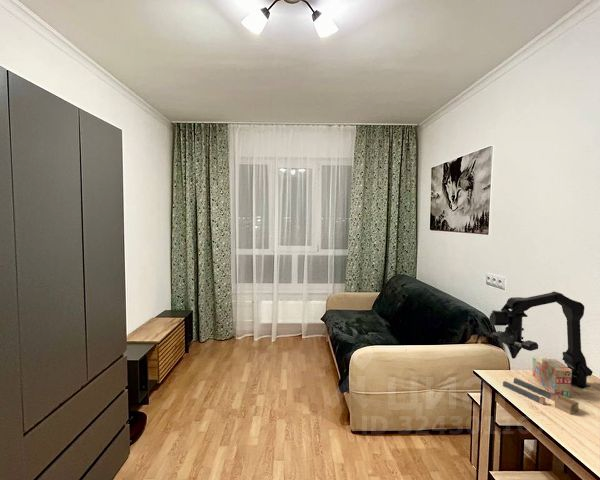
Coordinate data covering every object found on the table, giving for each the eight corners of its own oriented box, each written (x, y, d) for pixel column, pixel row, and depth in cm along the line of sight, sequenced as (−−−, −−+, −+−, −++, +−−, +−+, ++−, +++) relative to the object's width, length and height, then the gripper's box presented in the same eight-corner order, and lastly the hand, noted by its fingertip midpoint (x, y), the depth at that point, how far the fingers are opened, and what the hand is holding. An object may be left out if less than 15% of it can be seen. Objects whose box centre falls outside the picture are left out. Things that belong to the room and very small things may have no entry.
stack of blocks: (531, 375, 175) (532, 350, 174) (545, 375, 174) (547, 351, 173) (554, 396, 154) (556, 369, 153) (570, 398, 153) (572, 370, 152)
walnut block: (562, 404, 148) (562, 395, 148) (578, 412, 143) (578, 402, 142) (554, 407, 146) (554, 398, 146) (570, 415, 141) (570, 405, 140)
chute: (515, 382, 168) (515, 376, 168) (556, 400, 151) (556, 394, 151) (502, 385, 164) (503, 380, 164) (543, 404, 148) (543, 399, 148)
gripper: (484, 322, 170) (483, 354, 171) (523, 334, 153) (521, 369, 154) (500, 319, 174) (499, 350, 175) (539, 330, 157) (538, 364, 158)
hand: (513, 358), depth 166 cm, fingers closed
